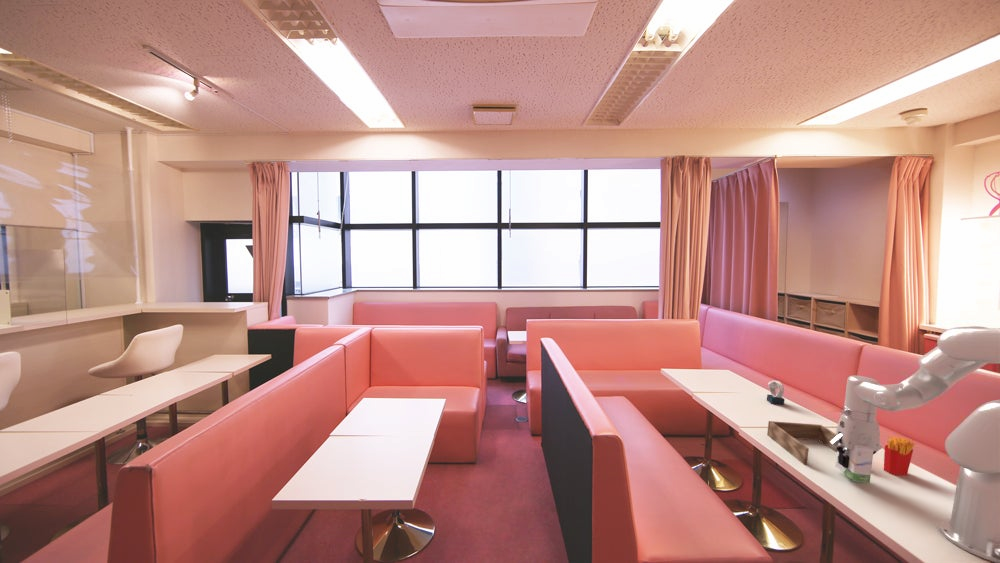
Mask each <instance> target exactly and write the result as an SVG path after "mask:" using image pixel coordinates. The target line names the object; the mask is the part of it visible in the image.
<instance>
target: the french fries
mask: <svg viewBox="0 0 1000 563" xmlns="http://www.w3.org/2000/svg"><path fill="white" fill-rule="evenodd" d="M915 444H916V443H915V442H914V441H911V439H908V438H905V437H899V436H893V437H888V439H887V444H885V445H884V454H883V455H884V456H883V457H884V458H883V471H884V472H886V473H888V474H891V475H894V476H908V473H909V470H910V469H909V468H910V464H911V461H912V460H911V459H912V457H913V452H914V449H913V448H914V446H915Z"/></svg>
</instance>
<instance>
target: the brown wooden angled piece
mask: <svg viewBox="0 0 1000 563" xmlns="http://www.w3.org/2000/svg"><path fill="white" fill-rule="evenodd" d="M767 425H768V426H767V434H766V436H768V437H769V438H770V439H771V440H772V441H774V442H775V443H776V444H778V445H779V446H781V447H782V448H783V449H784V450H785V451H786V452H787V453H789V454H790V455H791V456H793V457H794V458H795V459H796V460H798V462H800V463H801V464H803V465H808V458H809V449H810V448H808V447H807V446H806V445H805V444H803V443H801V442H800V441H799V440H797V439H800V440H801V439H802V440H813V441H815V440H816V441H819V440H820V441H819V442H821V443H822V442H823V443H822V444H824V445H825V446H827V447H828V448H830V449H831V450H833V451H834V452H836V453H837V450H836V449H835V448H834V446H832V445H831V444H830V441H831V440H832V439H834V438H835V437H836V432H834V431H831V430H830V429H829V428H828V427H825V426H824V425H822V424H814V423H800V422H786V421H774V420H773V421H772V420H771V421H770V420H769V421H768V424H767Z"/></svg>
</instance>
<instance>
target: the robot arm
mask: <svg viewBox="0 0 1000 563" xmlns="http://www.w3.org/2000/svg"><path fill="white" fill-rule="evenodd" d="M936 344H937V345H936V346H935V347H934V348H932V349H931V350H929V351H928V352H927V353H925V354H923V355H922V356H920V357H919V358H918V360H917V362H918V366H919V369H918V370H916V372H915V373H912V374H911V375H910V376H909V377H908V378H905V379H904V380H902V381H901V382H899V383H894V384H893V383H892V384H880V383H879V381H878V380H876V379H874V378H871V377H868V376H863V375H858V374H857V375H850V376H848V377H847V380H846V388H845V395H844V404H843V409H841V410H840V413H841V415H840V417H839V420H838V423H837V427H836V431H835V434H836V437H835V438H834V439H832V440H831V441H830V444H831V445H832V446H834V448H835V449H836V450H837V451H838V452H839V457H838V463H839V464H840V465H842V466H843V467H845V468H848V465H849V457H848V456H847V455H848V454H849V452H850V450H854V445H862V446H870V447H872V448H873V449H874V451H873V456H874V455H875V454H876V453H877V452H879V451H880V450H882V449H883V448H882V446H881V444H880V439H881V438H880V436H881V435H880V433H881V432H880V424H879V421H878V420H877V413H878V409H880V410H883V411H886V412H900V411H905V410H912V409H917V408H920V407H922V406H924V405H926V404H928V403H929V402H932V401H933V400H935V399H936V398H939V397H940V396H942V395H943V394H945V392H947V391H948V390H949V389H950V388H952V387H953V386H955V384H956V383H957V382H959V381H961V380H962V379H964V378H965V377H968V376H969V375H971V374H972V373H974V372H976V371H978V370H979V369H980V368H983V367H984V366H985V365H987V364H1000V328H998V327H995V328H993V327H986V326H975V325H973V326H957V327H953V328H949V329H947V330H945V331H943V332H942V333H941V334H939V336H938V338H937V342H936ZM839 443H840V445H838V444H839ZM844 447H845V450H843V448H844ZM944 448H945V451H946V454H947V456H949V458H950V459H951V460H952V462H954V463H955V464H957V465H958V466H960V467H959V470H958V471H959V472H958V476H957V479H956V487H955V492H954V498H953V504H952V509H951V515H950V521H949V522H942V523H941V524H939V531H940V532H941V534H942V535H943V537H945V538H946V539H947V540H949V541H950V542H951V543H952V544H954V545H956V546H957V547H959V548H960V549H962V550H964V551H966V552H967V553H968V552H969V553H970V554H972V555H975V556H977V557H979V558H982V559H984V560H986V561H991V562H993V563H1000V399H996V400H991V401H988V402H985V403H982V405H980V406H978V407H977V408H976V409H974V411H972V412H971V413H970V414H969V415H968V416H967V417H966V418H965V419H964V420H962V422H961V423H960V424H959V425H958V426H957V427H955V429H954V430H953V431H952V432H951V433H950V434H949V435H948V436H947V437H946V440H945V442H944Z"/></svg>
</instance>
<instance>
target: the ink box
mask: <svg viewBox="0 0 1000 563" xmlns="http://www.w3.org/2000/svg"><path fill="white" fill-rule="evenodd" d="M838 445H840V443H839V444H838ZM843 450H845V447H844V448H843ZM873 451H874V449H873V448H872V447H870V446H862V445H854V450H850V452H849V454H848V455H847V456H848V457H849V465H848V468H845V467H843V466H842V465H840V464H839V463H838V457H839V452H838V451H837V452H836V459H835V467H836V468H837V469H838V470H840V471H841V472H842V473H843V474H845V475H846V476H847V477H848V478H849V479H850V480H852V481H853V482H860V483H868V484H870V483H871V474H872V465H873V459H874V455H873Z"/></svg>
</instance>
